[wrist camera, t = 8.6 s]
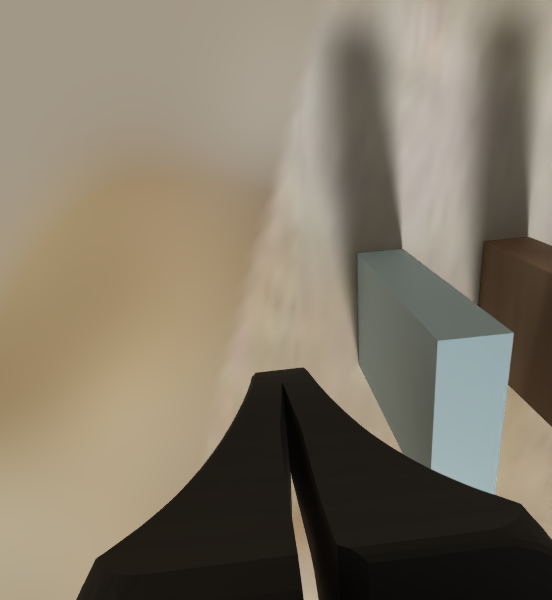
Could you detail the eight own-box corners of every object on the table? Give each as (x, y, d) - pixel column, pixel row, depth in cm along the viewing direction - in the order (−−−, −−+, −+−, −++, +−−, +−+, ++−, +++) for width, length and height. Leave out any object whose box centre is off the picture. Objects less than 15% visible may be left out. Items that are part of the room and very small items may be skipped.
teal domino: (402, 248, 16) (513, 333, 9) (400, 360, 18) (494, 498, 11) (357, 253, 16) (437, 340, 9) (359, 364, 17) (429, 506, 11)
